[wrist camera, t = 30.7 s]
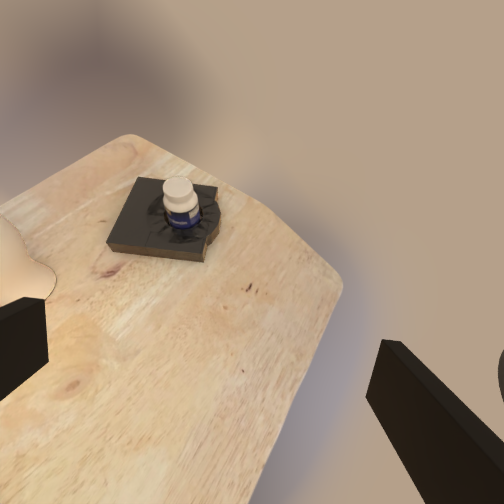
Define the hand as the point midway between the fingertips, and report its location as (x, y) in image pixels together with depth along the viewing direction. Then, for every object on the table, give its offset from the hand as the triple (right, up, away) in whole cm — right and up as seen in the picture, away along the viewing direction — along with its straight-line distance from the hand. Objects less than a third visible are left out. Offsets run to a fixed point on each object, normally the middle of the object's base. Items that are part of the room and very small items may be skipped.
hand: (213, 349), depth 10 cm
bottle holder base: (-14, +10, +37) cm, 41 cm away
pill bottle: (-11, +9, +38) cm, 40 cm away
